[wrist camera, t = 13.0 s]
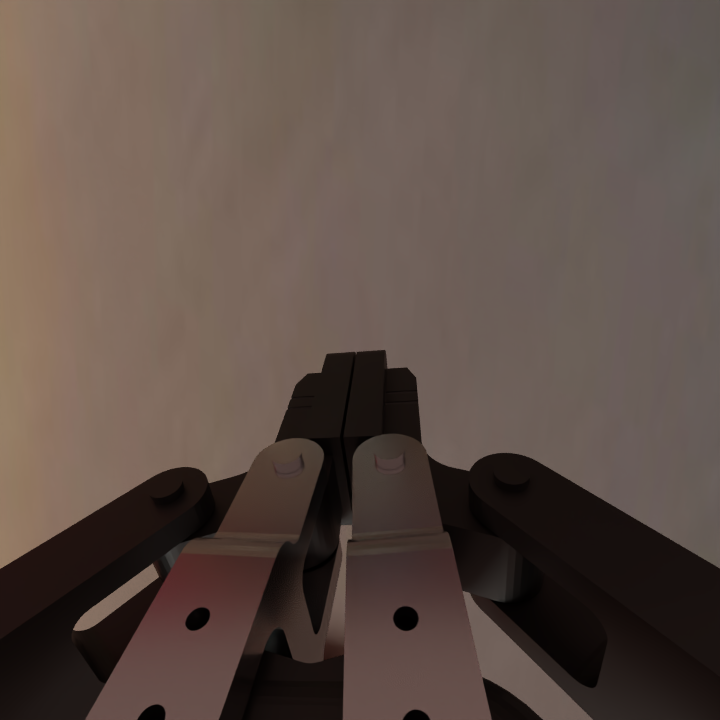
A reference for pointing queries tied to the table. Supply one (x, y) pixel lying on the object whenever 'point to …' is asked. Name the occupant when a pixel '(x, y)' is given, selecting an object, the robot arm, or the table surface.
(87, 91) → the table surface
